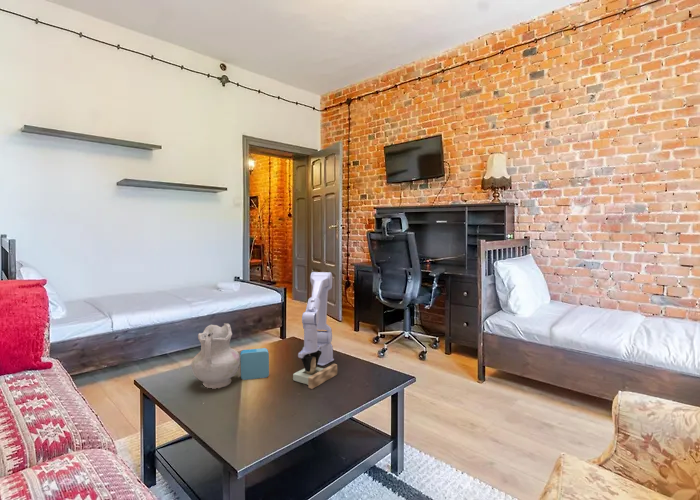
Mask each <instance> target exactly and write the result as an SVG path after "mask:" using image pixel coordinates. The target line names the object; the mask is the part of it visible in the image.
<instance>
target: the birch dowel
mask: <svg viewBox="0 0 700 500" xmlns="http://www.w3.org/2000/svg"><path fill="white" fill-rule="evenodd" d="M311 357H313V356H311ZM315 373H316V357H313V358H312V360H311V368H310V371H309V372H308V371H307V374H309V375H314V374H315Z"/></svg>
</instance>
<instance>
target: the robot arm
mask: <svg viewBox="0 0 700 500" xmlns="http://www.w3.org/2000/svg"><path fill="white" fill-rule="evenodd" d="M309 278H310V284H311V286H312V292H311V296H310V297H309V298H308V299H307V304H306V307H305V312H302V316H301V323H302V328H303V346H302V349H301V351H299V352H298V353H297V357H298V358H299V359H301V361H302V364H303V367H304V368H305V371H308V372H309V371H310V368H311V360H312V358H313V357H316V368H317V367H318V365H319V366H322V367H324V366H325V365H327V364H329V363H331V362H333V361H335V358H334V352H333V351H334V348H333V345H332V342H333V341H332V340H333V332H332V331H333V329H332V327H331V326H330V325H328V323H327V317H328V316H327V314H328V313H327V312H328V298H329V297H328V296H329V295H328V294H329V291H330V290H332V289H333V288H332V287H333V274H332V272H331V271H329V272H326V271H320V272H318V271H312V272H311V273H310V277H309ZM311 356H313V357H311Z"/></svg>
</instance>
